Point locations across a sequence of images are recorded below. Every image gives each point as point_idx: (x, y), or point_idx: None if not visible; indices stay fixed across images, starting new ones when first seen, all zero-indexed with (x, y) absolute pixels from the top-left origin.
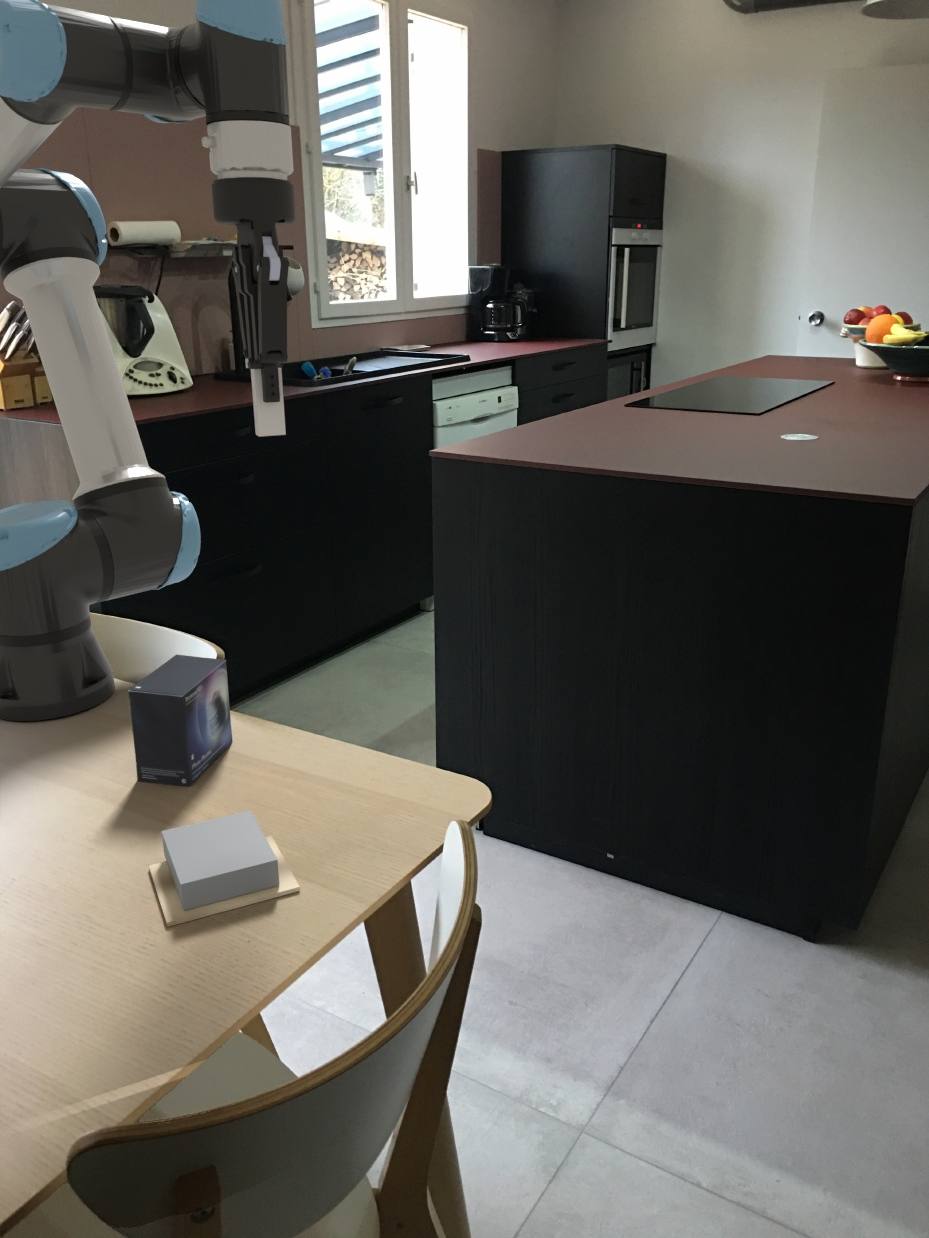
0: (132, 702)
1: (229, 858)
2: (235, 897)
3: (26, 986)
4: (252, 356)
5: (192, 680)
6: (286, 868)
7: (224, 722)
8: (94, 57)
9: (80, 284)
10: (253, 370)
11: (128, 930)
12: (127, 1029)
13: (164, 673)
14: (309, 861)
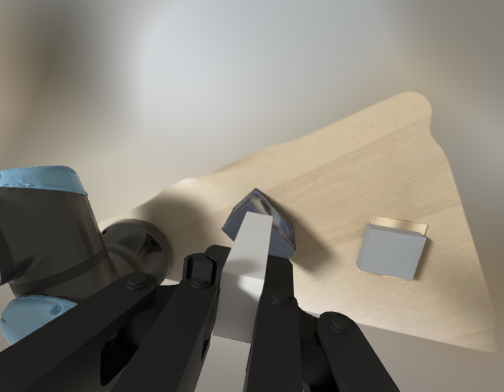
0: None
1: (408, 255)
2: None
3: (404, 328)
4: (206, 353)
5: (275, 237)
6: (408, 223)
7: (263, 200)
8: None
9: None
10: (244, 339)
11: (397, 291)
12: (457, 310)
13: None
14: (406, 209)
